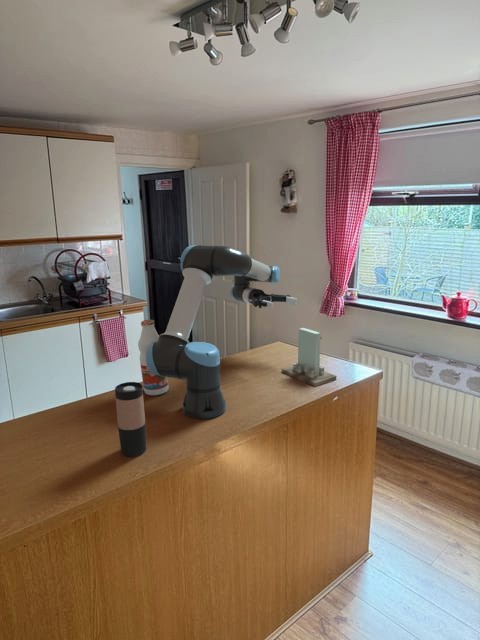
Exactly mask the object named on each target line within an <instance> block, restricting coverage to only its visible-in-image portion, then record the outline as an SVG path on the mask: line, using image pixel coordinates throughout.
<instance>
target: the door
mask: <svg viewBox="0 0 480 640" xmlns="http://www.w3.org/2000/svg"><path fill="white" fill-rule="evenodd" d="M321 335H322V334H321V332H318V331H315V330H312V329H309V328H305V327H301V328H298V338H297V339H298V341H297V343H298V345H297V352H298V353H297V355H298V356H297V364H300V365H302V366H303V367H302V371H303V372H305V368H310V369H313V370H315V376H318V375H319V367H320V366H321V365H320V363H321V362H320V361H321V340H322V336H321Z"/></svg>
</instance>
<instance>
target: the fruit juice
mask: <svg viewBox="0 0 480 640" xmlns="http://www.w3.org/2000/svg"><path fill="white" fill-rule="evenodd" d="M140 326H141V327H142V328H141V329H142V330H141V333H140V337H139V339H138V342H137V347H138V349H139V352H140V354H139V364H140V370H141V371H140V372H141V378H142V387H143V391H144V392H143V393H144V394H146V395H148V396H159V395H163V394H164V393H166V392H168V390H169V386H170V385H169V380H168V378H169V377H161V376H159V375H155V374H152V373H151V372H150V371H149V369H148V367H147V363H146V352H147V348H148V346H149V345H150V344H151V343H153V342H157V341H158V339H159V336H160V334H158V332H157V330H156V326H155V320H154V319H145V320H141V322H140Z"/></svg>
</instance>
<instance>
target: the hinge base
mask: <svg viewBox="0 0 480 640" xmlns="http://www.w3.org/2000/svg"><path fill="white" fill-rule="evenodd" d="M292 364H293V365H289V366H287V367H283V368H281V373H283V374H285V375H288V376H289V377H292V378H294V379H296V380H299V381H301V382H304V383H306V384H308V385H311V386H314V387H319V386H322V385H324V384H327V383H330V382H333V381H335V380H337V375H335V374H332V373H330V372H327V371H325V367H324V366H321V365H320V367H319V375H318V376H315V370H313V369H310V368H305V372H303V371H302V367H303V366H302V365H300V364H298V362H293V363H292Z"/></svg>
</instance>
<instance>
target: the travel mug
mask: <svg viewBox="0 0 480 640" xmlns="http://www.w3.org/2000/svg"><path fill="white" fill-rule="evenodd" d="M143 391H144V388H143V383H140V382H137V381H127V382H123V383H120V384H117V385H116V386H115V388H114V392H115V393H114V394H115V395H114V396H115V407H116V419H117V429H118V430H117V431H118V437H119V445H120V452H121V454H122V456H124V457H126V458H135V457H140V456H141V455H143V454H145V452H146V451H147V434H146V433H147V431H146V430H147V429H146V416H145V415H146V414H145V403H144V392H143Z"/></svg>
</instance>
